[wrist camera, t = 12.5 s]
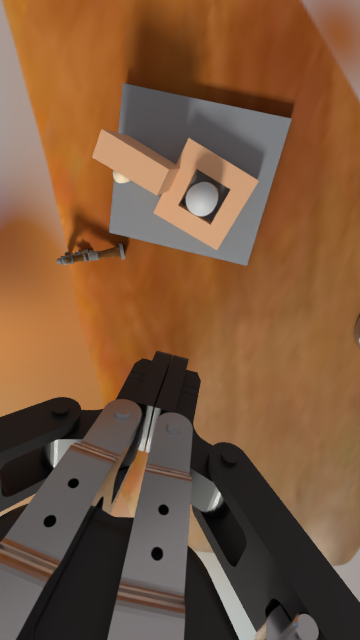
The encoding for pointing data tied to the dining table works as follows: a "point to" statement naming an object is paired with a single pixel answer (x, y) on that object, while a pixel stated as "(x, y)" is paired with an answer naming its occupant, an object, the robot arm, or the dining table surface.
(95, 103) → the dining table surface
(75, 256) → the wooden post with brackets
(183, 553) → the robot arm
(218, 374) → the dining table surface
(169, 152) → the post base
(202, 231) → the peach open lidded box
